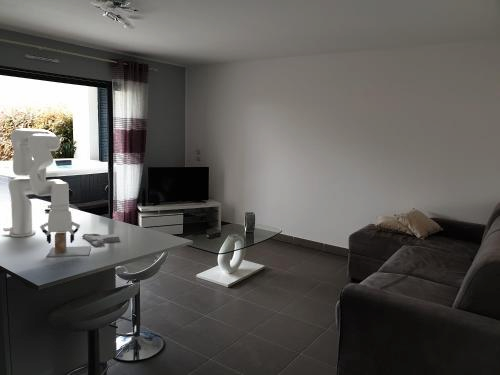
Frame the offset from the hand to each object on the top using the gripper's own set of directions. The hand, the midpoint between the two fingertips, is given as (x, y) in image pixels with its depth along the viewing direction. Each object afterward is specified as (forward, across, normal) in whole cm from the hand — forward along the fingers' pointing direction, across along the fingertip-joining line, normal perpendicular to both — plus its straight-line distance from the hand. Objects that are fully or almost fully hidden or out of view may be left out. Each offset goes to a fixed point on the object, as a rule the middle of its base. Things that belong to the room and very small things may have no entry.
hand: (60, 242), depth 185 cm
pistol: (+6, +18, +20) cm, 27 cm away
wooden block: (+4, 0, 0) cm, 4 cm away
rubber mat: (+5, +4, 0) cm, 6 cm away
